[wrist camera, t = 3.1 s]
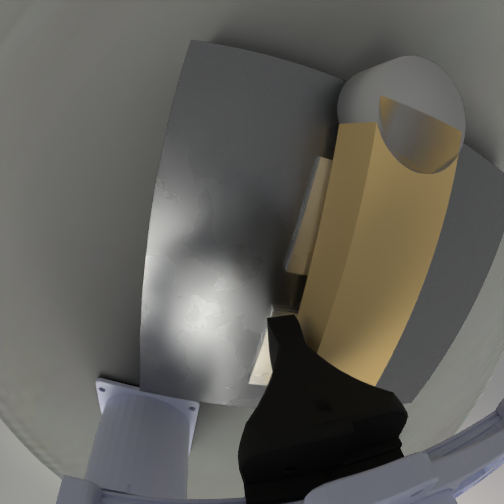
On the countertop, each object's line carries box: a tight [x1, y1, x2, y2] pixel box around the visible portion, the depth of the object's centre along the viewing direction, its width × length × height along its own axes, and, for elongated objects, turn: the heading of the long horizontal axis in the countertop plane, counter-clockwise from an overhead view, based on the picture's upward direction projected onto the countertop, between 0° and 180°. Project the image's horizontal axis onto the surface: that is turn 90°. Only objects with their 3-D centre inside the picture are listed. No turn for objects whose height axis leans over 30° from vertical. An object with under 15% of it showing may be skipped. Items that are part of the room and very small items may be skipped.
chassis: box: [140, 40, 504, 408], centre depth 15 cm, size 18×20×4 cm
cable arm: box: [297, 55, 466, 386], centre depth 11 cm, size 18×4×3 cm, turn 171°
